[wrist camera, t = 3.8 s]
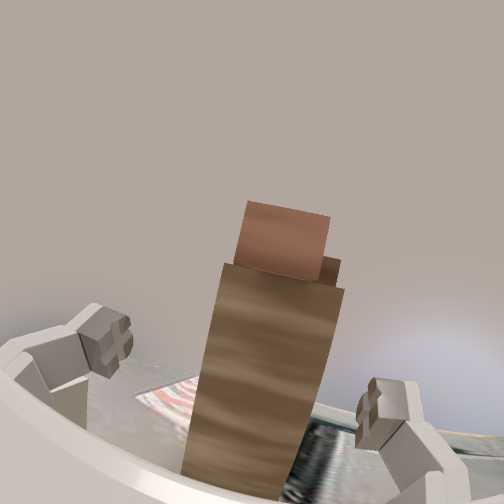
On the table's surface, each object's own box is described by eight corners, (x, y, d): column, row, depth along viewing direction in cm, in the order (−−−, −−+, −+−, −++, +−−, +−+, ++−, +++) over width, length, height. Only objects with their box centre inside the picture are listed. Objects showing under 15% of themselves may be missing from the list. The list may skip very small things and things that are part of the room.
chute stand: (260, 537, 19) (350, 261, 21) (174, 512, 21) (230, 236, 23) (275, 466, 34) (329, 270, 36) (212, 449, 36) (257, 255, 37)
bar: (317, 280, 14) (330, 217, 14) (233, 262, 14) (247, 200, 14) (307, 282, 33) (312, 256, 33) (271, 275, 34) (277, 248, 34)
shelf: (-3, 564, 4) (-71, 430, 5) (-48, 515, 5) (-101, 372, 6) (89, 495, 19) (88, 378, 20) (46, 466, 20) (40, 350, 21)
